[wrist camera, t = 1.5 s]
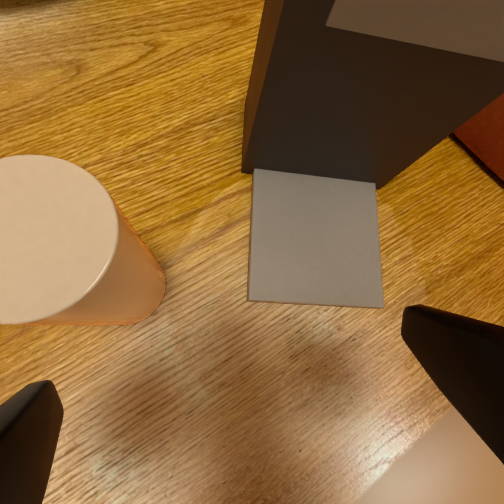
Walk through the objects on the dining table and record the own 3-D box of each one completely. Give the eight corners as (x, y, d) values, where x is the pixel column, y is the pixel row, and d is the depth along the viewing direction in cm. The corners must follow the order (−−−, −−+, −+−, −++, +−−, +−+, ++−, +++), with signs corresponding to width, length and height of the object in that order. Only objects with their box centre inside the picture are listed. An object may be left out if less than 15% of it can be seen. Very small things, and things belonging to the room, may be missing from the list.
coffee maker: (389, 309, 25) (1274, 232, 4) (232, 300, 23) (491, 84, 2) (375, 124, 29) (773, -340, 9) (243, 103, 27) (365, -552, 7)
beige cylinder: (118, 342, 21) (-10, 367, 8) (68, 282, 21) (-125, 220, 9) (181, 289, 22) (153, 243, 10) (134, 235, 23) (50, 124, 10)
